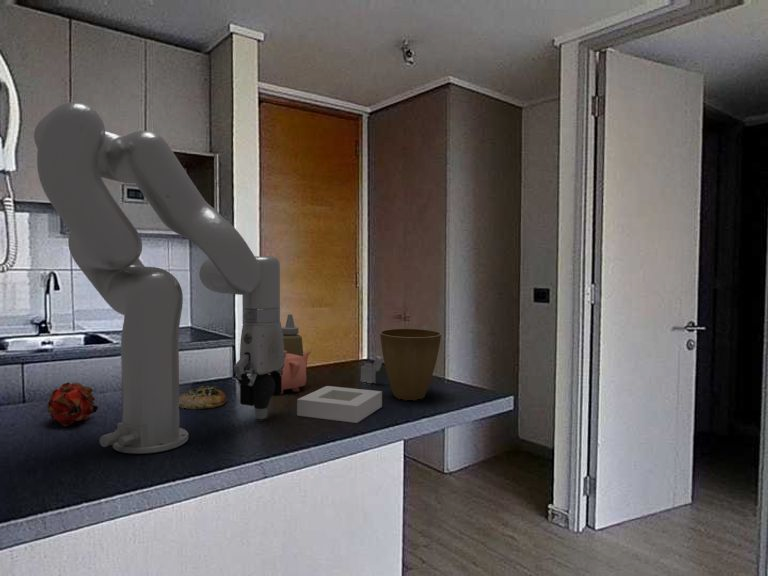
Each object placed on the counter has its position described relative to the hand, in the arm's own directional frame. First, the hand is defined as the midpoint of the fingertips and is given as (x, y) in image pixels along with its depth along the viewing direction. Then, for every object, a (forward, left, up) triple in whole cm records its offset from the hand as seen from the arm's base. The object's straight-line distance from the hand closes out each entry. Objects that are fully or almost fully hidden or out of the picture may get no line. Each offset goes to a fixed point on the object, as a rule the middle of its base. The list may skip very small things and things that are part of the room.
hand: (261, 399), depth 117 cm
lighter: (+41, -8, -5) cm, 42 cm away
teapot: (+25, +10, -5) cm, 27 cm away
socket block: (+13, -12, -4) cm, 18 cm away
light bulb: (0, 0, -5) cm, 5 cm away
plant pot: (+31, -22, -5) cm, 38 cm away
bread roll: (+6, +20, -5) cm, 21 cm away
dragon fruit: (-16, +34, -5) cm, 38 cm away
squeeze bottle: (+37, +15, -5) cm, 40 cm away
